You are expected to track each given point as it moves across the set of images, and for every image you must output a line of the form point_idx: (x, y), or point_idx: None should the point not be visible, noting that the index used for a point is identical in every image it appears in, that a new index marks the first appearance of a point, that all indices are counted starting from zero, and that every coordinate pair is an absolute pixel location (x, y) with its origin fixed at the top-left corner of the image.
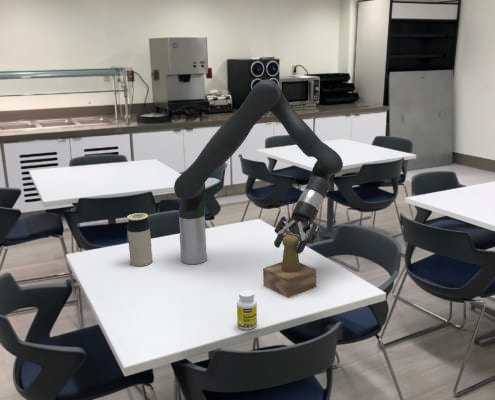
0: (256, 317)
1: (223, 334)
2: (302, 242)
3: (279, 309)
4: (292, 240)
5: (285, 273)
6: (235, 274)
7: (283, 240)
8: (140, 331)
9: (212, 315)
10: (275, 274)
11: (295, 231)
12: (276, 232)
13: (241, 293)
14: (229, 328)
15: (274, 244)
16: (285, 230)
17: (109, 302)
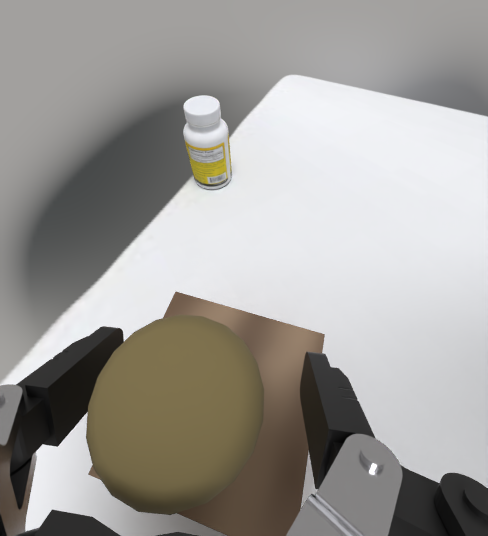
0: (191, 166)
1: (232, 145)
2: (33, 387)
3: (184, 251)
4: (128, 339)
5: None
6: (456, 377)
7: (226, 327)
8: (345, 107)
9: (294, 173)
10: (245, 312)
11: (95, 532)
12: (438, 488)
13: (211, 99)
14: (235, 159)
15: (321, 353)
16: (302, 517)
17: (483, 129)
